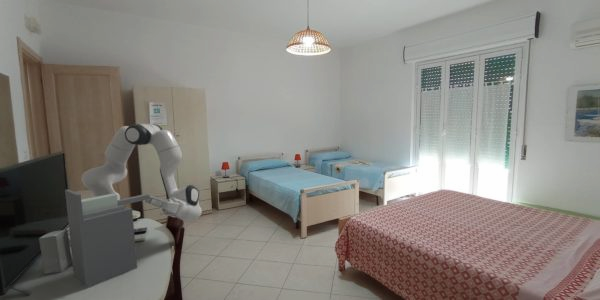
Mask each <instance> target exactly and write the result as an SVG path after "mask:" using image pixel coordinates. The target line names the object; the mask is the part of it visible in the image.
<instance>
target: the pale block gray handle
mask: <svg viewBox="0 0 600 300" xmlns="http://www.w3.org/2000/svg"><path fill="white" fill-rule="evenodd" d="M150 196H151V195H150V194H149V193H144V194H139V195H136V196H131V197H126V198H120V200H117V195H115V194H108V195H103V196H98V197H94V196H93V197H88V198H83V199H82V198H81V203H82V213H83V214H87V213H92V212H96V211H100V210H105V209H109V208H113V207H118V206H121V205H124V206H126V205H129V204H132V203H137V202H144V200H147V199H150Z"/></svg>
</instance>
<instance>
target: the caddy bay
mask: <svg viewBox="0 0 600 300" xmlns="http://www.w3.org/2000/svg"><path fill="white" fill-rule="evenodd" d="M64 194H65V201H66V212H67V220H68V222H67V223H68V230H69V232H68V233H69V242H70V251H71V259H72V266H73V267H72V268H73V277H74V278H75V279H76V280H77V282H79V283H80V284H81V285H82V286H83V287H84V288H85V289H88V288H92V287H94V286H96V285H99V284H101V283H104V282H106V281H109V280H111V279H113V278H117V277H118V276H120V275H124V274H126V273H128V272H130V271H133V270H136V269H138V264H137V251H136V241H135V237H136V236H135V228H134V227H135V226H134V216H133V208H132V207H128V206H126V205H121V206H118V207H113V208H109V209H105V210H100V211H96V212H92V213H87V214H83V213H82V203H81V200H82V196H81V194H80V193H78V192H76V191H75V190H71V189H64Z"/></svg>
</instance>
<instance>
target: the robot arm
mask: <svg viewBox="0 0 600 300" xmlns="http://www.w3.org/2000/svg"><path fill="white" fill-rule="evenodd" d="M142 145H143V146H145V145H152V146H153V147H154V149H155V151H156V153H157V156H158V159H159V173H160V176H161V177H160V178H161V180H162V184H163V187H164V192H165V196H166V199H165V200H164V199H161V198H158V197H155V196H152V195H150V199H147V200H143V202H144V203H146V204H148V205H151V206H155V207H156V208H159V209H161V210H162V212H163V214H164V216H166V217H167V216H168V217H172V218H174V219H175V218H177V219H180V220H182V221H187V222H195V221H197V220H198V219H199V218H200V217H201V215H202V213H203V209H202V207H201V206H200V203H199V202H200V191H199V189H198V188H197V187H196V186H195V185H192V184H189V185H186V186H184V187H181V188H180V189H179V188H178V185H177V183H176V179H175V170H176V169H177V167H178V166H179V165H180V163H181V162H182V159H183V153H182V150H181V148H180V145H179V144H178V142H177V140H176V138H175V136H174V135H173V133H172V132H171V131H170V130H167V129H163V128H162V127H161V126H160V125H158V124H155V123H140V124H139V123H135V124H131V125H123V126H121V127H120V128H119V129H118V130H117V131H116V133H115V134H114V135H113V137H112V138H111V140H110V142H109V144H108V145H107V148H106V150H105V151H104V157H105V159H106V160H105V162H104V164H103V165H100V166H96V167H92V168H89V169H88V170H85V171H84V172H83V173H82V175H81V183H82V184H83V186H84V187H85V188H87V189H89V190H90V191H91V192H92V194H93V197H98V196H103V195H108V194H115V195H117V200H120V199H121V195H120V193H118V192H117V191H115V189H114V187H113V185H114V184H117V183H119V182H121V181H123V180H125V178H126V177H127V176H128V169H127V167H126V166H127V162H128V160H129V158H130V157H131V154H132V152H134V151H133V150H134V149H135V147H136V146H142Z"/></svg>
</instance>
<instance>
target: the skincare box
mask: <svg viewBox="0 0 600 300" xmlns="http://www.w3.org/2000/svg"><path fill="white" fill-rule="evenodd" d="M38 241H39V247H40V248H39V249H40V253H41V261H42V265H43V272H44V273H43V274H46V275H47V274H53V273H56V274H57V273H62V272H63V271H64V270H66V269H67V268H68V267H69V266H71V265H72V264H73V259H72V251H71V244H70V237H69V232H68V229H62V230H54V231H50V232H48V233H46V234H44V235H42V236H40V237H39V238H38Z"/></svg>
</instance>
